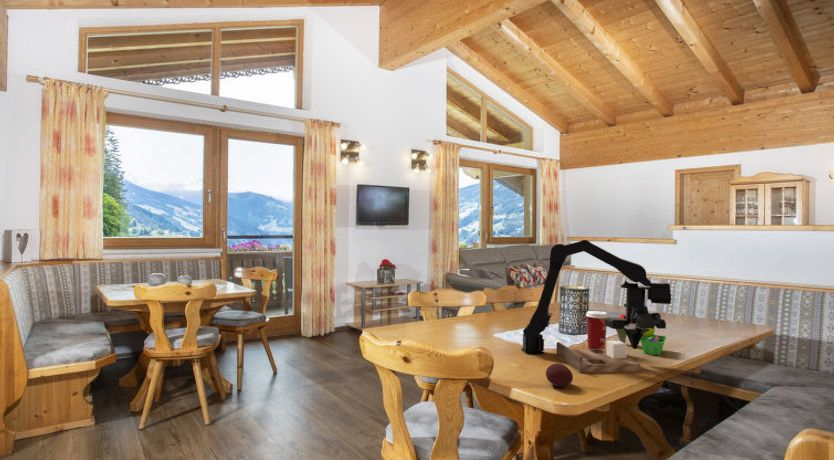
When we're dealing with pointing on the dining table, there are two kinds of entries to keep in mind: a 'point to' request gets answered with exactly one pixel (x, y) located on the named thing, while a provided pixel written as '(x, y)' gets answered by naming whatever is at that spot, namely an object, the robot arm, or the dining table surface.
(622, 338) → the light bulb
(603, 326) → the paper cup
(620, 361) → the trap board
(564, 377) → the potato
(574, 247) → the robot arm
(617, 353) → the block
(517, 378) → the dining table surface
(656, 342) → the fruit basket
